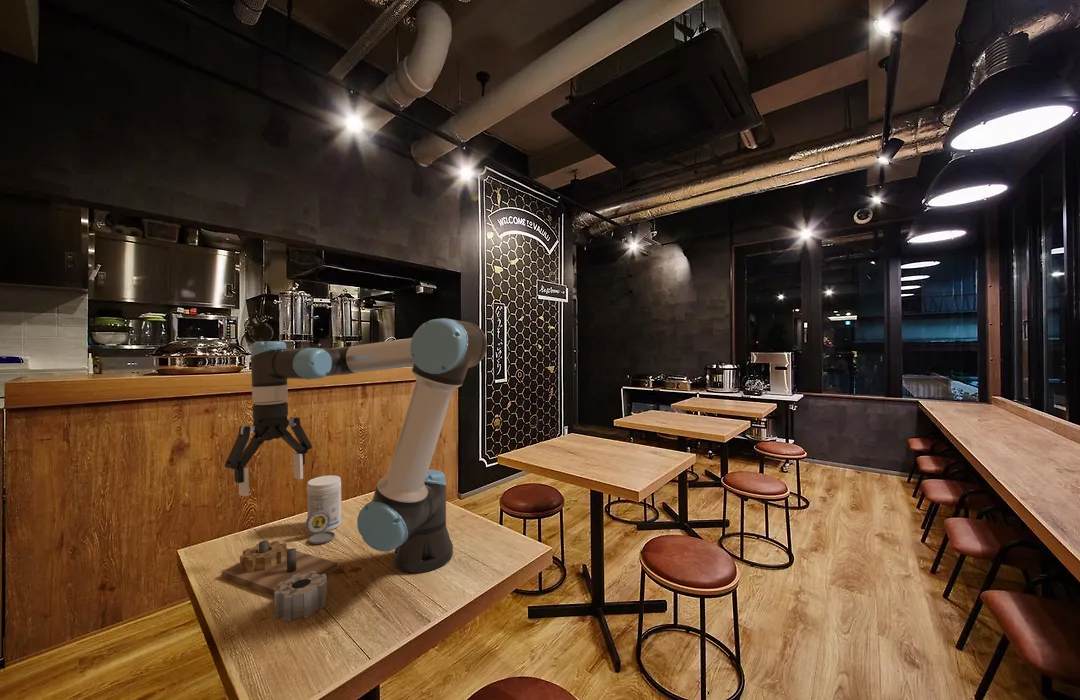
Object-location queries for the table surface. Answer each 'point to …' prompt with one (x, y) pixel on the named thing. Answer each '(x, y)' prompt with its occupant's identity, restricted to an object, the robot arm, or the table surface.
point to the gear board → (274, 566)
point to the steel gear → (300, 596)
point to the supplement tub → (325, 498)
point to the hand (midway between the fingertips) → (272, 486)
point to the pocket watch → (319, 534)
